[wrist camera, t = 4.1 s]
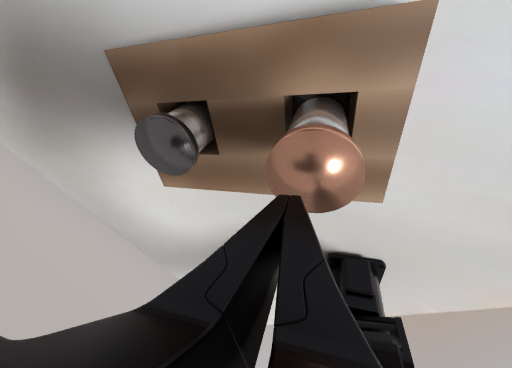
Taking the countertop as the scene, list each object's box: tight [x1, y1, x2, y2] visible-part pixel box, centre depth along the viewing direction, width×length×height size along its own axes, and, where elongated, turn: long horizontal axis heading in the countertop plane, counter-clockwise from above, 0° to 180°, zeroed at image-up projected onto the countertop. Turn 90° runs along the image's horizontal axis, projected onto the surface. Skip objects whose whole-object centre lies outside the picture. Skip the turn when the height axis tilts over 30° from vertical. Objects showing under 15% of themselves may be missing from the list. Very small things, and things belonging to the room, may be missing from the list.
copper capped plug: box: [265, 97, 366, 213], centre depth 12 cm, size 4×4×7 cm
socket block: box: [104, 0, 439, 203], centre depth 17 cm, size 12×20×4 cm, turn 97°
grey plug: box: [135, 100, 215, 176], centre depth 17 cm, size 4×4×7 cm
